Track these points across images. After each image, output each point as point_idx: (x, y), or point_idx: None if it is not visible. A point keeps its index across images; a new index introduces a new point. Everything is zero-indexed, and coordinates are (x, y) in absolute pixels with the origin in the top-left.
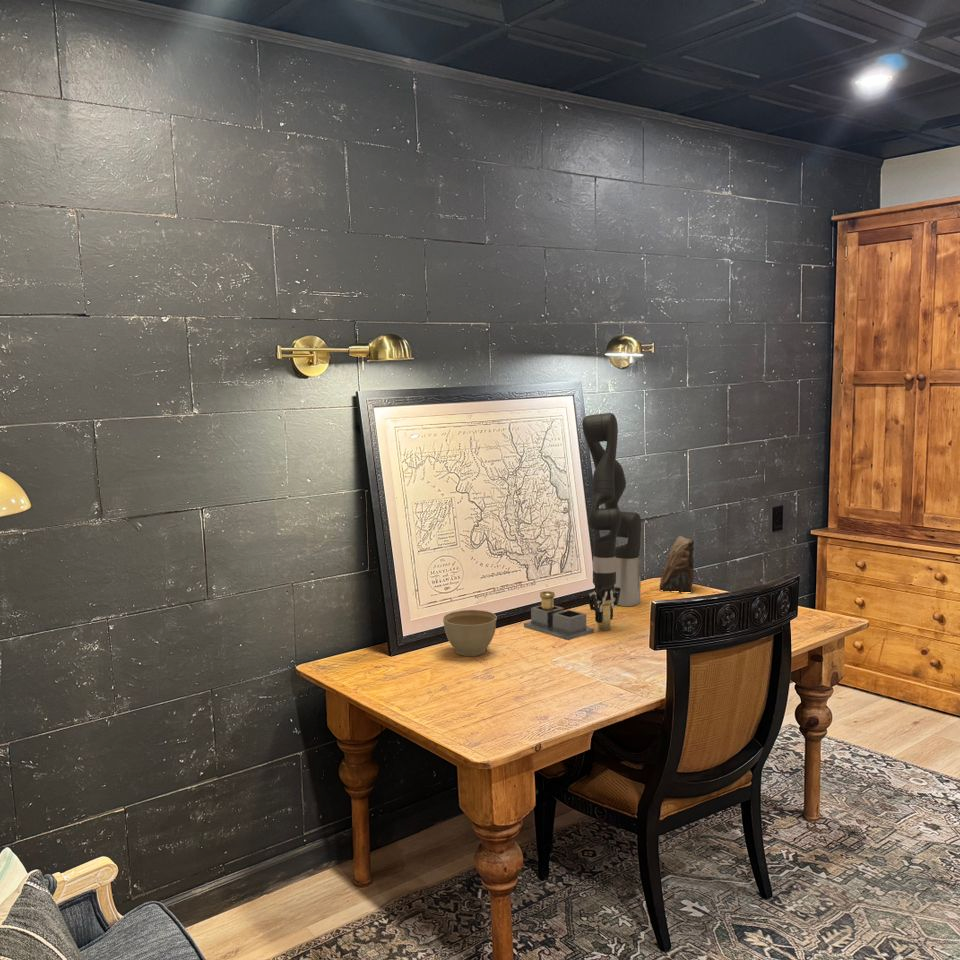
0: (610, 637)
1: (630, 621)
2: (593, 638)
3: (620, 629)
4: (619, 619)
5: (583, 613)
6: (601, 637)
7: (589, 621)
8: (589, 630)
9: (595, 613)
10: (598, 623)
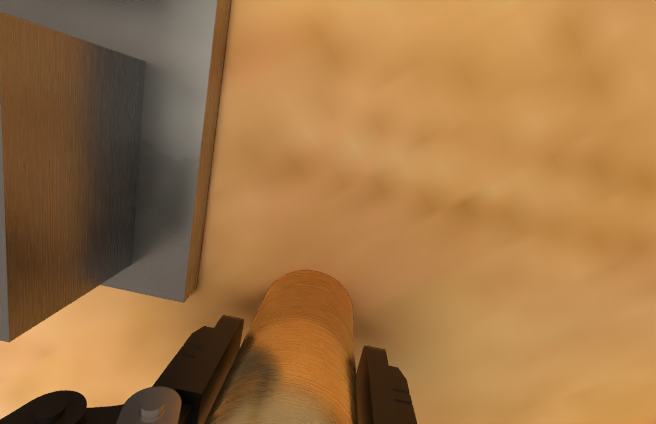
0: None
1: (598, 375)
2: (84, 347)
3: None
4: (619, 289)
5: (2, 300)
6: (137, 377)
7: (440, 111)
8: (137, 289)
9: (158, 381)
10: (258, 312)
